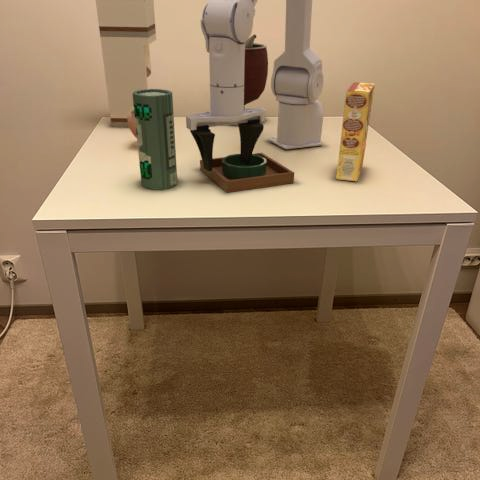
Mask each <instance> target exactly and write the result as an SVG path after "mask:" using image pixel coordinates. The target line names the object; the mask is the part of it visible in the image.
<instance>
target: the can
mask: <svg viewBox="0 0 480 480" xmlns="http://www.w3.org/2000/svg"><path fill="white" fill-rule="evenodd" d="M132 94H133V104H134V114H135V124H136V134H137V138H136V143H137V153H138V162H139V172H140V183H141V186H142V187H143V188H145V189H149V190H153V191H154V190H155V191H156V190H157V191H164V190H168V189H171V188H174V187H176V186H177V185H178V169H177V167H178V166H177V150H176V149H177V148H176V135H175V118H174V117H175V115H174V100H173V99H174V98H173V91H171V90H169V89H162V88H148V89H144V90H138V91H134V92H133V93H132Z"/></svg>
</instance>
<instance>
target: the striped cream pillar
mask: <svg viewBox="0 0 480 480" xmlns="http://www.w3.org/2000/svg"><path fill="white" fill-rule="evenodd" d="M95 6H96V13H97V21H98V23H97V24H98V30H99V38H100V44H101V53H102V62H103V69H104V77H105V83H106V84H105V86H106V92H107V101H108V109H109V117H110V125H111V128H129V125H128V121H127V117H128V113H129V111H130V109H131V108H132V107H133V106H134V104H133V94H132V93H133V92H134V91H138V90H144V89H149V86H148V85H149V84H148V78H149V77H150V76H151V75H152V66H151V65H152V64H151V52H150V44H152V43H153V42H154V43H155V41H157V32H156V31H157V28H156V17H155V15H156V14H155V2H154V0H95Z"/></svg>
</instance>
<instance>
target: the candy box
mask: <svg viewBox="0 0 480 480" xmlns="http://www.w3.org/2000/svg"><path fill="white" fill-rule="evenodd" d="M375 86H376V84H375V83H371V82H356V81H355V82H353V83H352V84H351V85H350V86H349V88H348V89H347V90H346V91H345V100H344V106H343V107H344V109H343V116H342V126H341V134H340V141H339V142H340V143H339V151H338V160H337V169H336V176H335V179H336V180H340V181H350V182H358V180H359V178H360V175H361V173H362V170H363V167H364V159H365V152H366V146H367V138H368V131H369V125H370V119H371V112H372V105H373V98H374V90H375Z"/></svg>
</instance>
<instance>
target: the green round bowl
mask: <svg viewBox="0 0 480 480" xmlns="http://www.w3.org/2000/svg"><path fill="white" fill-rule="evenodd" d="M253 154H254V153H252V156H251V160H250V164H249V165H245V164H243V163H241V158H240V153H234V154H228V155H226V156H223V157H224V158H223V160H222V172H223V175H224V176H225V177H227V178H230V179H233V180H236V179H243V178H250V177H258V176H265V175H266V166H267V161H266V159H265V158H263V157H262V156H259V155H253Z"/></svg>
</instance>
